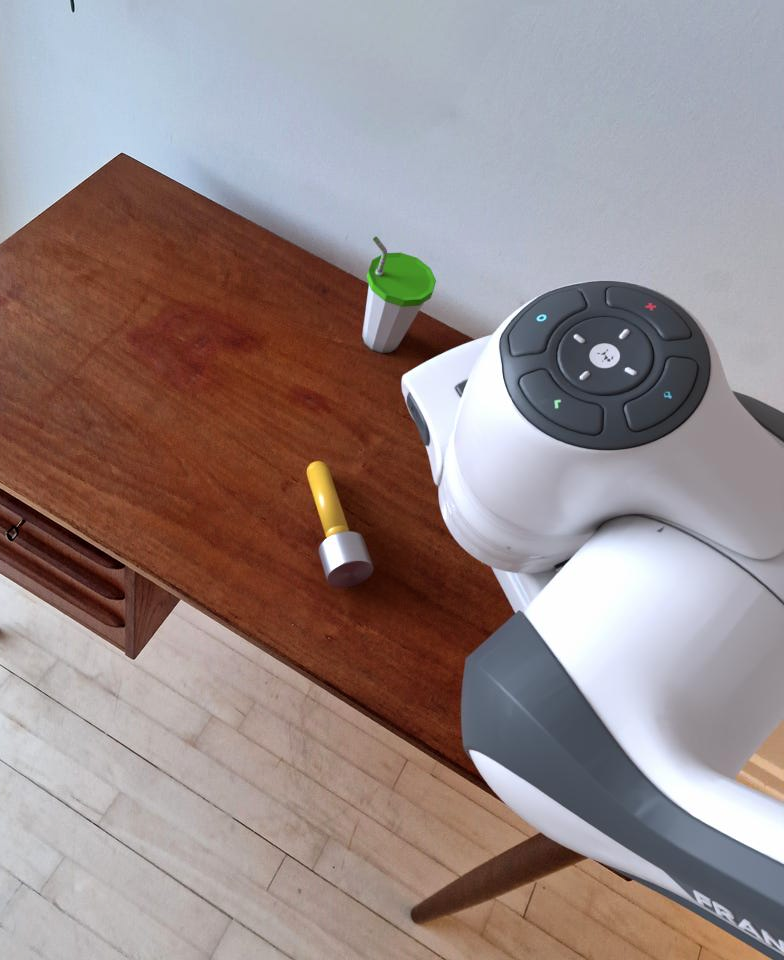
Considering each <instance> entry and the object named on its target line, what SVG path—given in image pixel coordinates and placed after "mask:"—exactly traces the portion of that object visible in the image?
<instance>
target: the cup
mask: <svg viewBox="0 0 784 960" xmlns="http://www.w3.org/2000/svg"><path fill="white" fill-rule="evenodd" d="M372 241H373V242H374V244H376V246H377V247H378V248H379V250H380V251H381V254H380V255H378V256H377V257H375V258H373V259H372V260H371V263H370V265H369V268H368V270H367V273H366V280H367V283H368V289H367V297H366V305H365V312H364V313H365V314H364V320H363V327H362V336H361V337H362V340H363V343H364V345H365V346H367V347H368V349H370V350H371V351H373V352H377V353H380V354H386V353H387V354H389V353H392V352H393V351H395V350H396V349H398V347H399V345H400V344H401V342H402V340H403V339H404V337H405V335H406V333H407V332H408V331H409V329H410V327H411V325H412V324H413V322H414V321H415V319H416V317H417V315H418V313H419V312H420V310H421V309H422V307H423V306H424V303H425V302H427V301H429V300H430V299H431V298H432V296H433V293H434V290H435V286H436V283H437V280H436V277H435V275H434V273H433V270H432V269H431V268H430V267H429V266H428V265H427V264H426V263H424V262H423V261H422V260H421V259H420V258H418V257H416V256H413V255H409V254H407V253H403V252H388V249H387V247H386V246H385V245H384V243H382V241H381V240H380V238H379V237H378V236H374V237H373V238H372Z"/></svg>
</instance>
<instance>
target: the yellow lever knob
mask: <svg viewBox="0 0 784 960" xmlns="http://www.w3.org/2000/svg"><path fill="white" fill-rule="evenodd" d="M330 471H331V470H330V469H329V466H328V464H326V463H325V462H324V461H321V460H315V461H312V462H311V463H310V464H309V465H308V466H307V468H306V477H307V480H308V484H309V487H310V490H311V493H312V496H313V500H314V503H315V506H316V509H317V512H318V516H319V519H320V521H321V526H322V529H323V532H324V535H325V539H324V540H323V541H322V542H321V543H320V544H319V547H318V554H319V557H320V560H321V564H322V568H323V571H324V574H325V577H326V580H327V581H326V582H327V583H328V584H329V585H330V586H331V587H334V588H340V589H342V588H343V589H344V588H350V587H353V586H354V587H355V586H357V585H360V584H362V583H363V582H365V581H367V579H369V578H370V577H371V576H372V574H373V572H374V565H373V562H372V560H371V555H370V553H369V550H368V547H367V544H366V541H365V539H364V536H363V535H362V534H361V533H359V532H356V531H351V530H350V529H349V526H348V523H347V519H346V517H345V513H344V510H343V508H342V504H341V502H340V501H341V500H340V498H339V495H338V492H337V489H336V486H335V482H334V480H333V477H332V473H331V472H330Z"/></svg>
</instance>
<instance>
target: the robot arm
mask: <svg viewBox="0 0 784 960" xmlns="http://www.w3.org/2000/svg"><path fill="white" fill-rule="evenodd" d="M400 385H401V393H402V395H403V398H404V402H405V404H406V407H407V409H408V412H409V414H410V416H411V418H412V420H413V422H414V423H415V426H416V428H417V430H418V433H419V435H420V438H421V441H422V443H423V445H424V447H425V448H426V451H427V456H428V459H429V464H430V468H431V475H432V479H433V482H434V484H435V486H437V487H438V488H437V489H438V490H437V491H438V493H437V494H438V504H439V509H440V513H441V517H442V519H443V521H444V523H445V525H446V527H447V529H448V531H449V533H450V534H451V536H452V537H453V539H454V541H456V542H457V544H458V545H459V546H460V547H461V548H462V549H463V550H464V551H465V552H467V553H468V554H469V555H470V556H471V557H473V558H474V559H476V560H477V561H479V562H480V563H482V564H484V565H486V566H488V567H490V568H491V570H492V571H493V574H494V576H495V577H496V579H497V581H498V583H499V585H500V587H501V588H502V591H503V592H504V594H505V596H506V599H507V600H508V602H509V604H510V606H511V608H512V610H513V612H514V614H512V616H510V617H509V618H508V620H506V621H505V622H504V623H503V624H502V625H501V626H500V627H498V629H496V630H495V631H494V632H493V633H492V634H491V635H490V636H489V637H488V638H487V639H485V641H483V642H482V643H481V644H480V645H479V646H478V647H476V649H474V650H473V651H472V652H471V653H470V654H469V655H468V656H466V657H465V662H464V668H463V675H462V684H461V685H462V686H461V699H460V726H461V738H462V747H463V750H464V752H465V754H466V755H467V757H468V758H469V759H470V760H471V761H472V762H473V764H474V766H475V768H476V769H477V771H478V773H479V774H480V776H481V777H482V778H483V780H484V782H486V784H487V785H488V786H489V788H490V789H491V791H493V793H495V794H496V796H497V797H498V798H499V799H500V801H502V802H503V803H504V804H505V805H506V806H507V807H508V808H509V809H510V810H511V812H513V813H515V815H517V816H518V817H519V818H521V819H522V820H523V821H524V822H525V823H527V825H529V826H530V827H532V828H533V829H535V830H537V831H538V832H539V833H541V834H542V835H544V836H545V837H547V838H548V839H550V840H551V841H553V842H555V843H557V844H559V845H561V846H562V847H564V848H567V849H568V850H571V851H573V852H575V853H577V854H579V855H581V856H584V857H586V858H589V859H591V860H593V861H596V862H599V863H601V864H603V865H604V866H606V867H607V868H610V869H612V870H614V871H615V872H617V873H619V874H621V875H623V876H624V877H626V878H627V879H628V878H629V879H630V880H632V881H634V882H636V883H637V884H640V885H642V886H644V887H645V888H648V889H650V890H652V891H654V892H656V893H657V894H660V896H661V895H662V896H664V898H667V899H669V900H670V901H671V902H674V903H676V904H678V905H680V907H681V906H682V907H683V908H685V909H687V910H689V911H690V912H692V913H693V914H695V915H697V916H699V917H701V918H702V919H704V920H705V921H707V922H709V923H710V924H712V925H714V926H716V927H717V928H719V929H720V930H722V931H724V932H725V933H727V934H729V935H731V936H732V937H734V938H736V939H737V940H739V941H740V942H742V943H744V944H745V945H747V946H749V947H750V948H752V949H754V950H755V951H757V952H759V953H761V954H762V955H763V956H766V957H767V958H769V959H770V960H784V801H783V800H780V799H778V798H776V797H774V796H772V795H769V794H767V793H765V792H763V791H760V790H758V789H756V788H754V787H752V786H750V785H747V784H745V783H743V782H740V781H738V780H736V779H737V777H738V776H739V774H740V772H741V771H742V770H743V769H744V767H745V766H746V765H747V763H748V762H749V761H750V759H751V758H752V757H753V756H754V755H755V754H756V753H757V751H758V750H759V749H760V748H761V746H762V745H763V744H764V743H765V742H766V740H767V739H768V738H769V737H770V736H771V734H772V733H773V732H774V731H775V729H777V727H778V726H779V725H780V724H781V722H783V720H784V412H783V411H781V410H780V409H778V408H775V407H773V406H771V405H769V404H767V403H765V402H763V401H761V400H759V399H757V398H755V397H752V396H750V395H747V394H744V393H742V392H738V391H735V390H732V388H731V386H730V384H729V382H728V379H727V376H726V374H725V371H724V367H723V364H722V361H721V357H720V355H719V352H718V349H717V347H716V346H715V343H714V340H712V338H711V336H710V334H709V332H708V331H707V329H706V328H705V327H704V325H703V324H702V323H701V322H700V321H699V319H698V318H697V317H696V316H695V315H694V314H693V313H692V312H691V311H689V310H688V309H687V308H686V307H685V306H684V305H682V304H681V303H679V302H678V301H677V300H675V299H674V298H672V297H670V296H669V295H668V294H666V293H664V292H662V291H659V290H658V289H655V288H653V287H650V286H647V285H645V284H641V283H637V282H633V281H626V280H617V279H595V280H586V281H580V282H575V283H569V284H566V285H562V286H559V287H556V288H554V289H551V290H550V289H549V290H547V291H546V292H543V293H541V294H540V295H537V296H536V297H535V296H534V298H531V299H530V300H528V301H527V302H526V303H524V304H522V305H521V306H520V307H519V308H516V309H515V310H514V311H513V312H512V313H511V314H510V315H509V316H508V317H507V318H505V320H503V321H502V322H501V324H500V325H499V326H498V327H497V328H496V330H495V331H494V332H493V333H492V334H488V335H486V336H482V337H479V338H477V339H474V340H471V341H468V342H466V343H463V344H461V345H458V346H455V347H453V348H450V349H449V350H446V351H444V352H443V353H441V354H438V355H436V356H434V357H432V358H431V359H428V360H426V361H425V362H422V363H421V364H419V365H417V366H416V367H414V368H412V369H411V370H409V371H408V372H406V373H404V374H403V375H402V376H401V383H400Z"/></svg>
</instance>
